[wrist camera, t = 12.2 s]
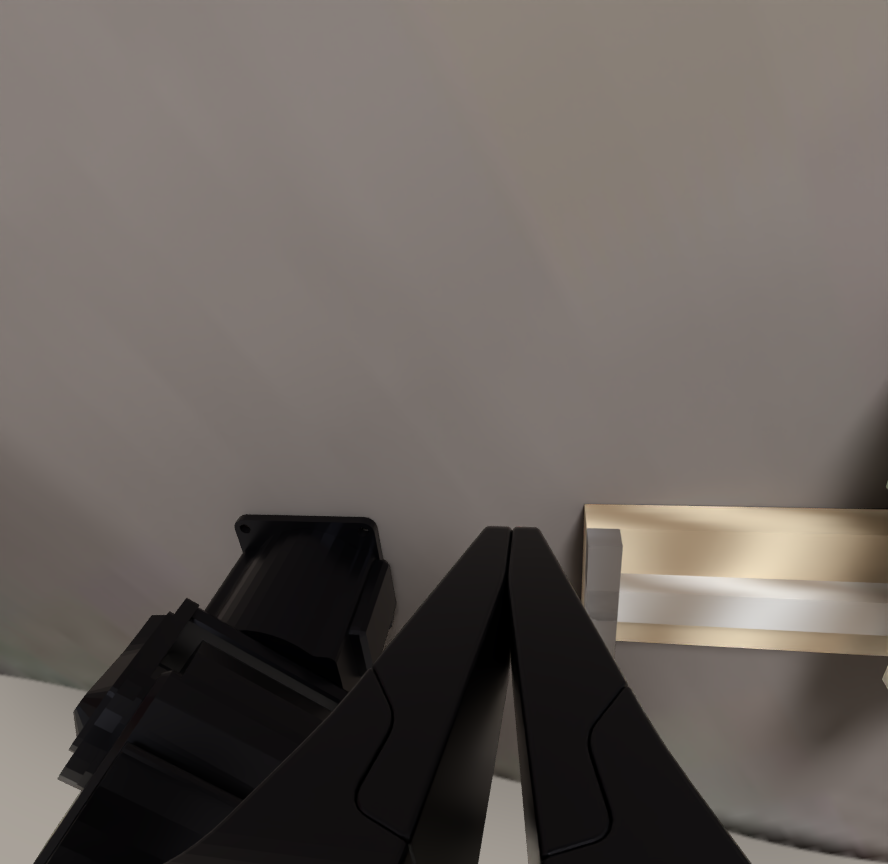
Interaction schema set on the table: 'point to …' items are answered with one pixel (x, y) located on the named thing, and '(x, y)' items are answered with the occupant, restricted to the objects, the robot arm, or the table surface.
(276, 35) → the table surface
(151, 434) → the table surface
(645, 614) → the rail
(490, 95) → the table surface
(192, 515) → the table surface
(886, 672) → the carriage
